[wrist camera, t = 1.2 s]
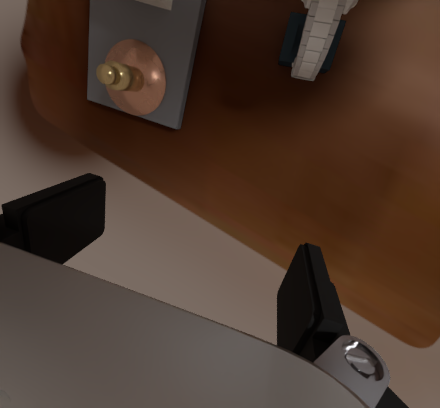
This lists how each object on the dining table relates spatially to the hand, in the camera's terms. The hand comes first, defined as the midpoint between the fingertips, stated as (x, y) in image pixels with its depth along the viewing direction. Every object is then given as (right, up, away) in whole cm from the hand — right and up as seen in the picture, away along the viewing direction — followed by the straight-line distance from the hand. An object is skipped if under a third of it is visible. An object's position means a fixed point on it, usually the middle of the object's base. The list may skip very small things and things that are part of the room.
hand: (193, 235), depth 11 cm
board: (-8, +24, +20) cm, 32 cm away
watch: (+11, +20, +17) cm, 28 cm away
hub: (-10, +18, +21) cm, 29 cm away
